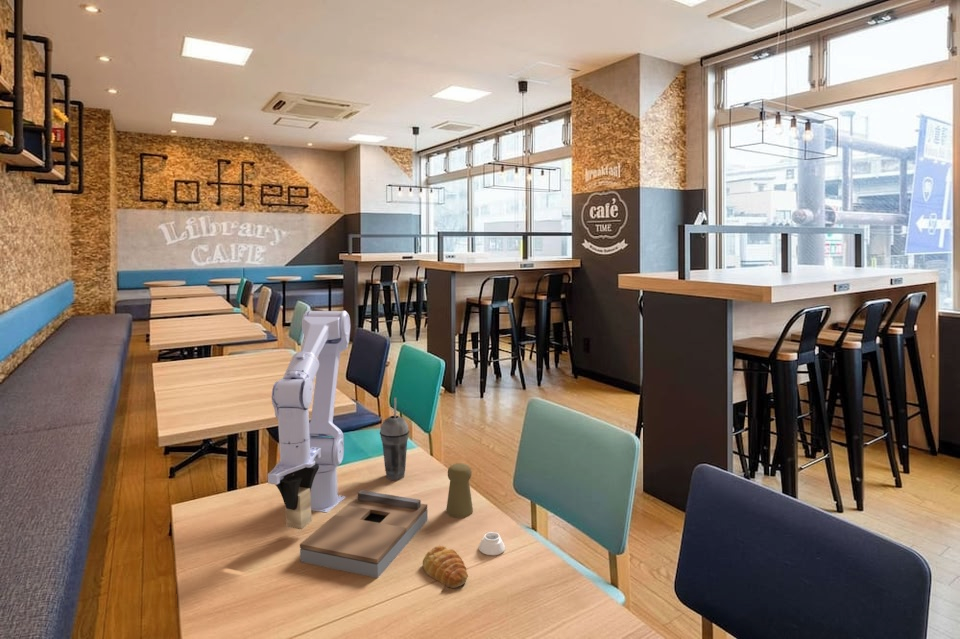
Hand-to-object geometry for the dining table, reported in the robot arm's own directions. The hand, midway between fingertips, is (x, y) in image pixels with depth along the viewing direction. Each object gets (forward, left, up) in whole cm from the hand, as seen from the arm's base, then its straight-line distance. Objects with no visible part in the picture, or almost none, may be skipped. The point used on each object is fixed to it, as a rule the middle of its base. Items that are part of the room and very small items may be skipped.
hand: (297, 504), depth 118 cm
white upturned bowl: (+38, +8, -8) cm, 40 cm away
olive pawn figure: (+27, +20, -7) cm, 34 cm away
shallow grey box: (+14, +3, -7) cm, 16 cm away
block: (0, 0, -4) cm, 4 cm away
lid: (+14, +3, -4) cm, 15 cm away
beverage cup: (+5, +33, -7) cm, 34 cm away
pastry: (+33, -2, -8) cm, 33 cm away
